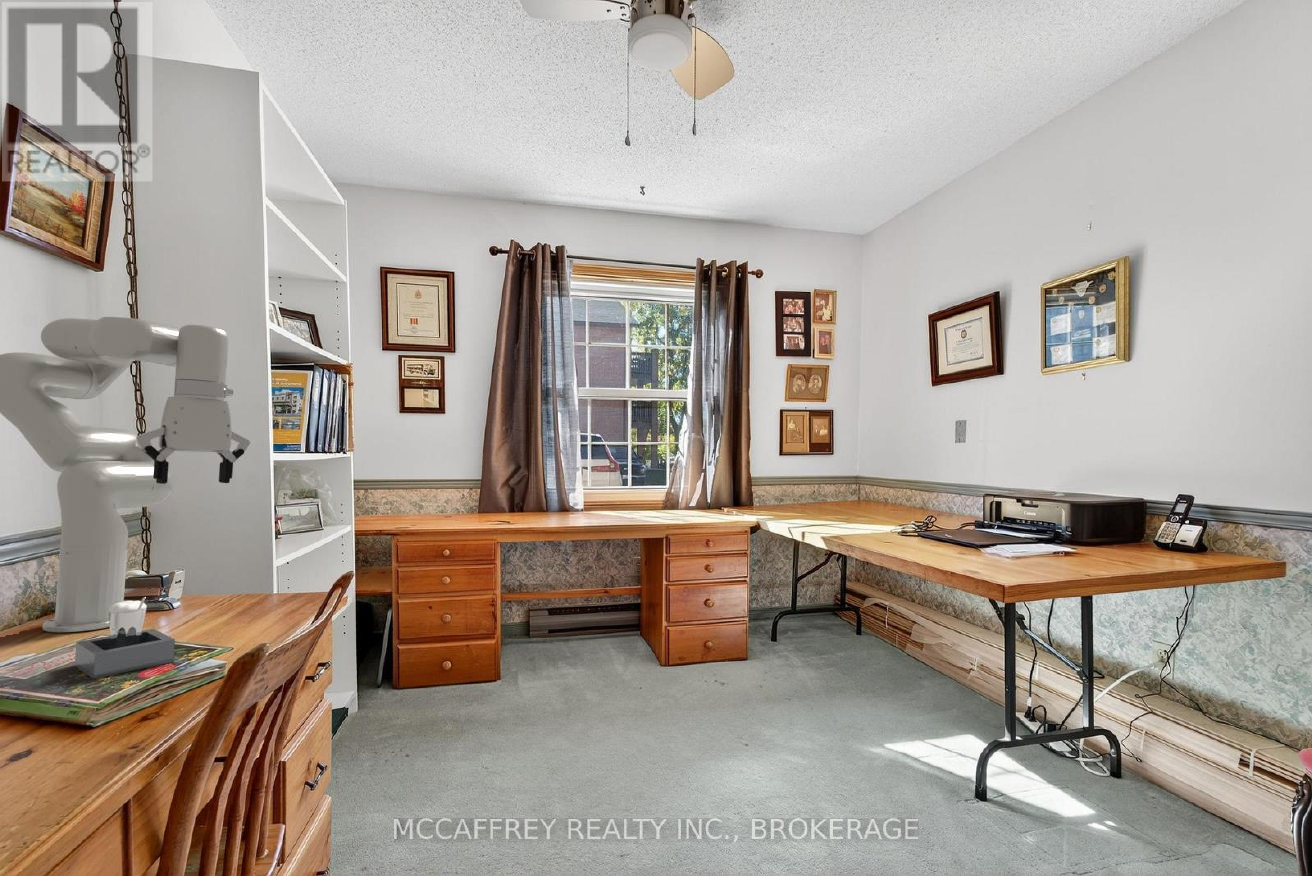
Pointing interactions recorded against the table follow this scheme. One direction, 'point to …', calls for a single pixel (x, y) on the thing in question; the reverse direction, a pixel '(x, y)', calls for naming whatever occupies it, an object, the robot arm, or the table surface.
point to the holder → (123, 654)
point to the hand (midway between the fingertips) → (193, 483)
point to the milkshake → (126, 623)
